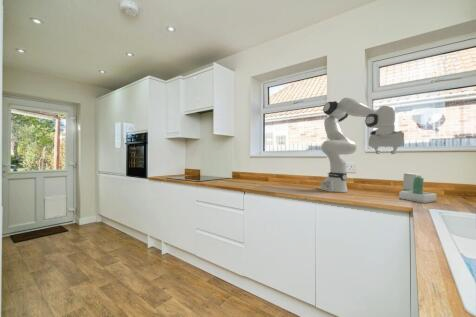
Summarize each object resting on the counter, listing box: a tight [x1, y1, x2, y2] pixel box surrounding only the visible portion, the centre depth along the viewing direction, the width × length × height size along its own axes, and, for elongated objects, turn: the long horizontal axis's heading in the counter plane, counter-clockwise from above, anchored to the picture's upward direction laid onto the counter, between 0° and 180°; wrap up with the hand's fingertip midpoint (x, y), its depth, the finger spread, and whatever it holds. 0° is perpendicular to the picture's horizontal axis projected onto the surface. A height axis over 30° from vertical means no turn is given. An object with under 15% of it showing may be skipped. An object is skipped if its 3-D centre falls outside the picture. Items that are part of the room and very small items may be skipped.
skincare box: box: [402, 172, 421, 191], centre depth 161 cm, size 8×7×16 cm
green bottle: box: [413, 174, 424, 195], centre depth 145 cm, size 5×5×15 cm
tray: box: [398, 190, 438, 204], centre depth 146 cm, size 14×14×4 cm
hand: (385, 154), depth 142 cm, fingers open, 8 cm apart
